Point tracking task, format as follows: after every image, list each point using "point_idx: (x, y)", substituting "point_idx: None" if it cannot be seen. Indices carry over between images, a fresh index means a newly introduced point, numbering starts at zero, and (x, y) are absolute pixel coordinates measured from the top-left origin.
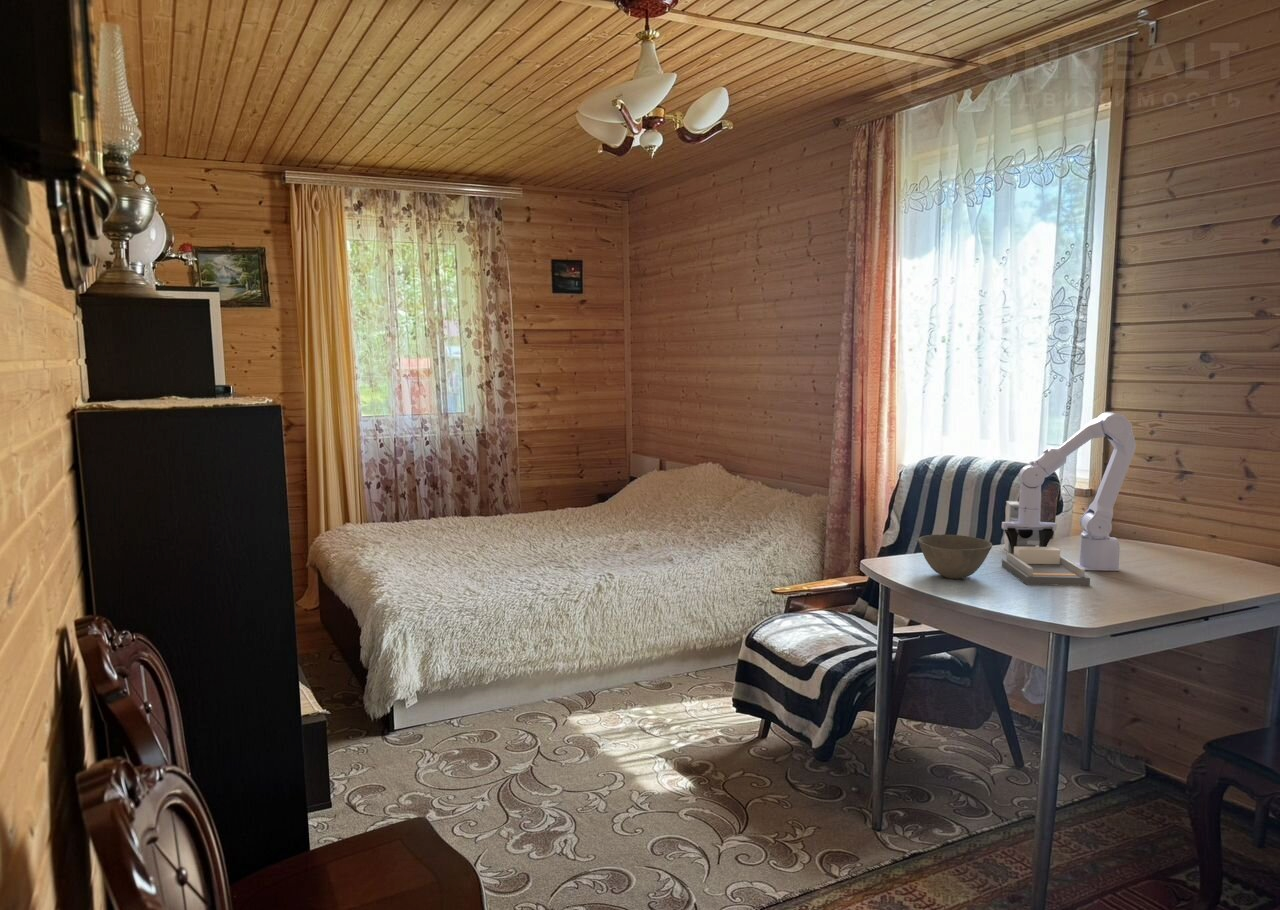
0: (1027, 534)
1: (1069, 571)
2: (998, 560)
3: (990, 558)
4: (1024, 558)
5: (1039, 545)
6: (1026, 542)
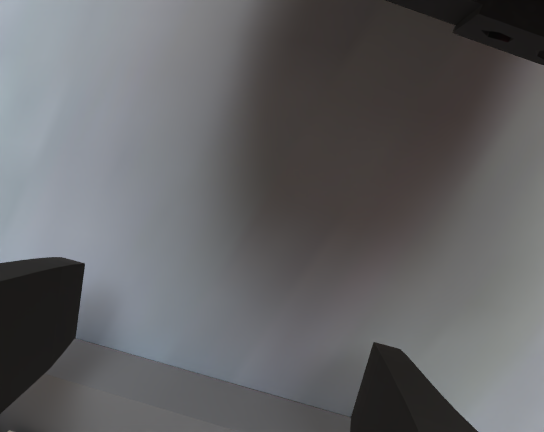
0: (420, 7)
1: None
2: (46, 108)
3: (3, 9)
4: None
5: (389, 394)
6: None
